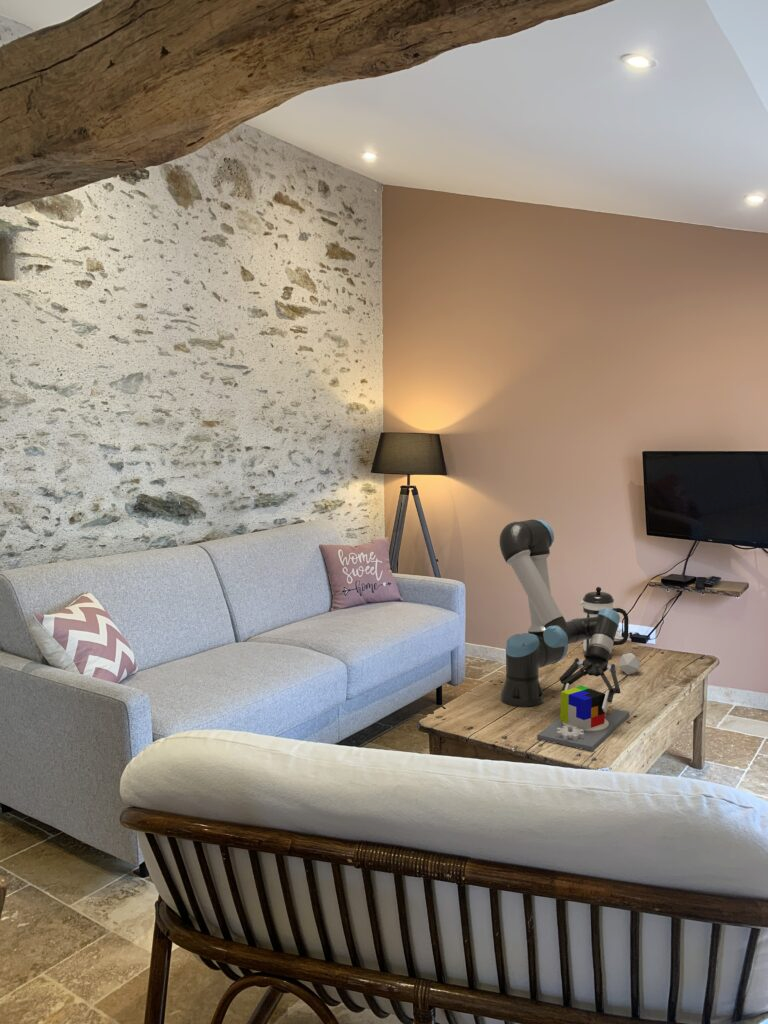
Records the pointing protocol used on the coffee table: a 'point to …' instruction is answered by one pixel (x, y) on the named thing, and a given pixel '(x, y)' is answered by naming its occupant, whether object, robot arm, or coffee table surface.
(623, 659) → the die
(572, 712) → the puzzle toy
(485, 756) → the coffee table surface
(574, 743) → the gear board
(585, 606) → the coffee press
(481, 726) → the coffee table surface
